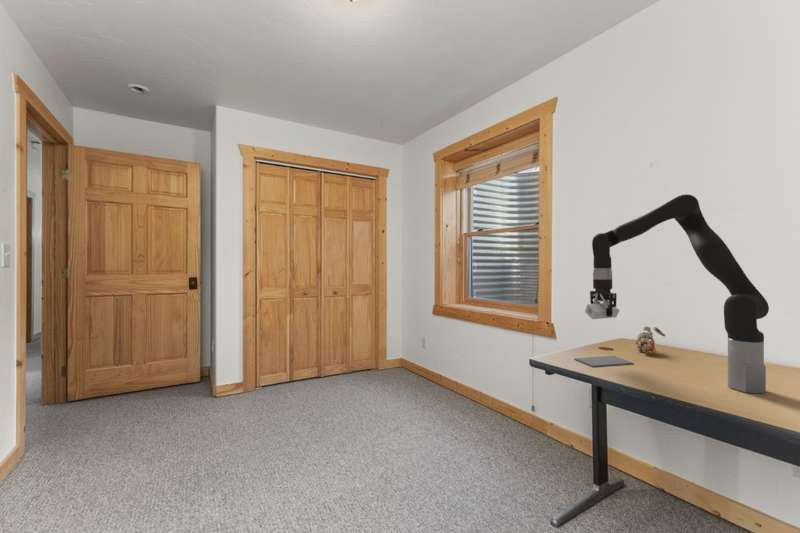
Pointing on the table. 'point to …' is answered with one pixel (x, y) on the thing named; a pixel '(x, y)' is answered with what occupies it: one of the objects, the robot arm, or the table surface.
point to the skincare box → (600, 311)
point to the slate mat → (603, 361)
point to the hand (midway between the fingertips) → (603, 315)
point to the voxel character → (647, 340)
